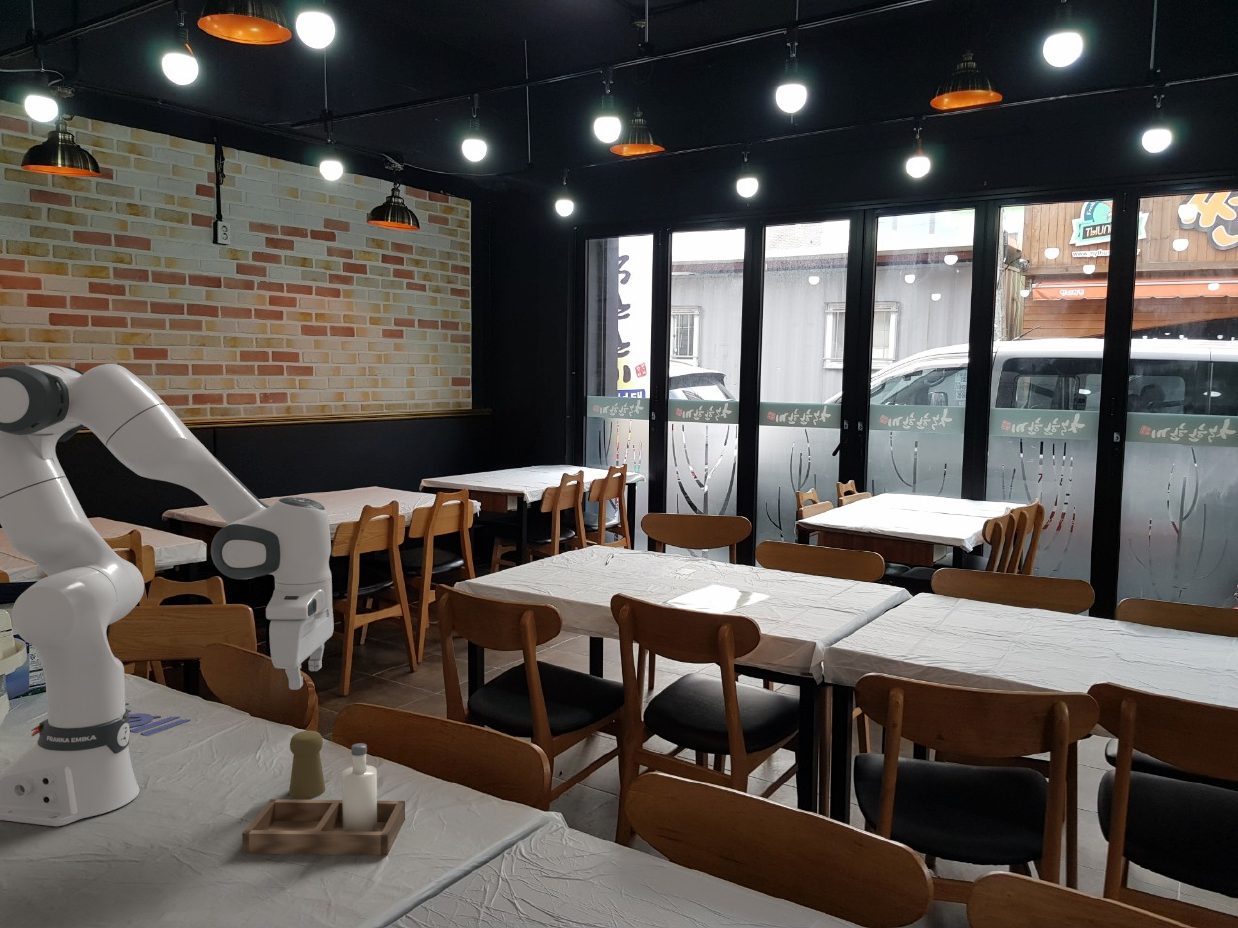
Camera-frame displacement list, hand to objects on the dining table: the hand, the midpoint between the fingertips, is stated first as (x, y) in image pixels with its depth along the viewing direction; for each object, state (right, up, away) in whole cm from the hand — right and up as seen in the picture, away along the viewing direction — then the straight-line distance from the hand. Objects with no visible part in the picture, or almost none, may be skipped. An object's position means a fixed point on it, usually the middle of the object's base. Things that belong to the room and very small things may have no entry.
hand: (306, 678), depth 152 cm
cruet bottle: (+13, -21, -13) cm, 28 cm away
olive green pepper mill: (0, -20, +2) cm, 21 cm away
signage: (-50, -17, +38) cm, 65 cm away
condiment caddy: (+8, -22, -13) cm, 26 cm away
